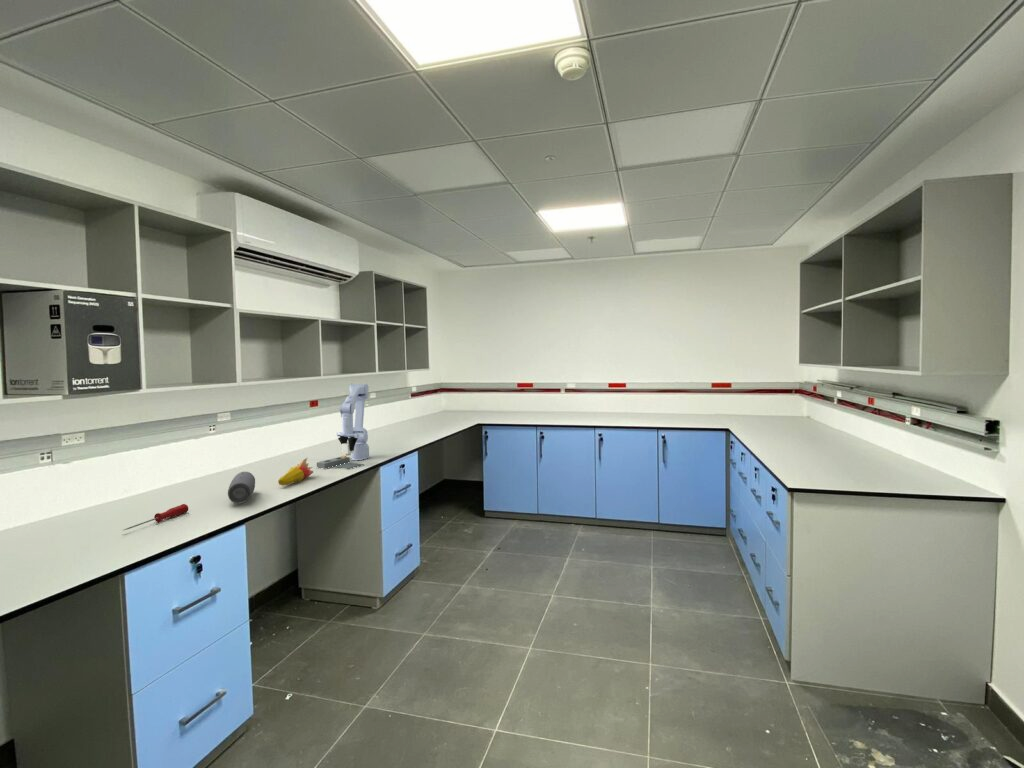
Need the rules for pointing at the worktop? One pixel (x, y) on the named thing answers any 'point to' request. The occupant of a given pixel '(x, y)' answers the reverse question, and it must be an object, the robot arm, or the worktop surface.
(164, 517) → the screwdriver
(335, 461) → the power strip
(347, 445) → the block
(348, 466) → the mat
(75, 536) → the worktop surface
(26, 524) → the worktop surface
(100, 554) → the worktop surface
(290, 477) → the torch
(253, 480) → the bluetooth speaker
